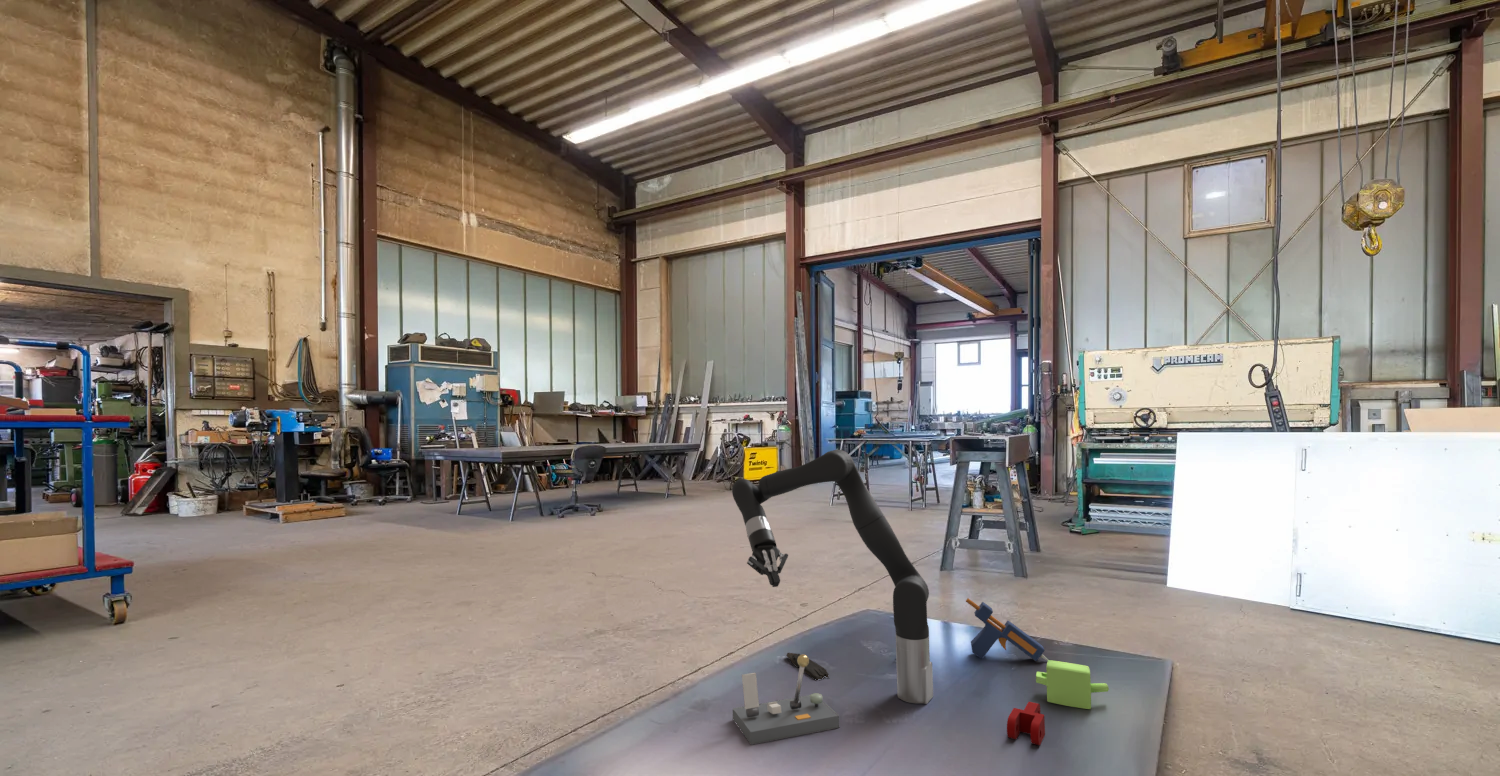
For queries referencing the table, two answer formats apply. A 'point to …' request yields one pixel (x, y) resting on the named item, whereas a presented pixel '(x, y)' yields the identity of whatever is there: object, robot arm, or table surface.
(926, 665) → the robot arm
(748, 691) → the pale grey paddle
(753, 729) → the control panel
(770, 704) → the white rocker switch
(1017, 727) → the mechanical linkage
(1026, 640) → the glue gun
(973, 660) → the table surface
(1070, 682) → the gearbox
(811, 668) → the wood
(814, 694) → the push button
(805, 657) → the brass lever
